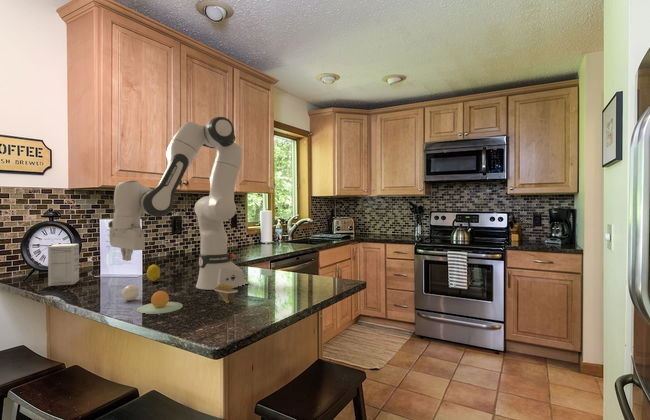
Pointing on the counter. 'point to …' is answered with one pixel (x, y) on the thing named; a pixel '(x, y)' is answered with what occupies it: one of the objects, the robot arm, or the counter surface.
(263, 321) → the counter surface
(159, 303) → the object ball
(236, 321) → the counter surface
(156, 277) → the lemon
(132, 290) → the cue ball
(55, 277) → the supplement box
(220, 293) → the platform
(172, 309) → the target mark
